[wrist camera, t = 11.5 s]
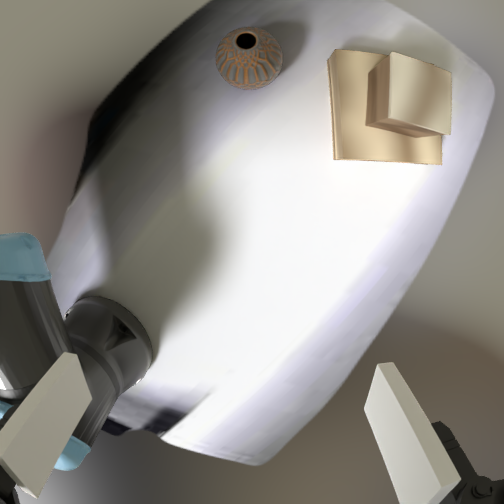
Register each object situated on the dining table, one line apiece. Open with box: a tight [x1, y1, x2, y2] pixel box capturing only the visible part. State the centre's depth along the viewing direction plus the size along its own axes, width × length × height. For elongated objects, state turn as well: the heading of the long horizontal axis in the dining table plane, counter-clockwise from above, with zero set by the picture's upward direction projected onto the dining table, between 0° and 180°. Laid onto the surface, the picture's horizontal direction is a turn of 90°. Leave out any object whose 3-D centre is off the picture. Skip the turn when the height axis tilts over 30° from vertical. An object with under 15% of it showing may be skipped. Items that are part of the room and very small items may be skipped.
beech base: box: [327, 49, 442, 165], centre depth 29 cm, size 12×12×5 cm
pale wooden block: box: [365, 52, 452, 138], centre depth 23 cm, size 6×6×7 cm
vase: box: [216, 27, 283, 90], centre depth 26 cm, size 7×7×9 cm
